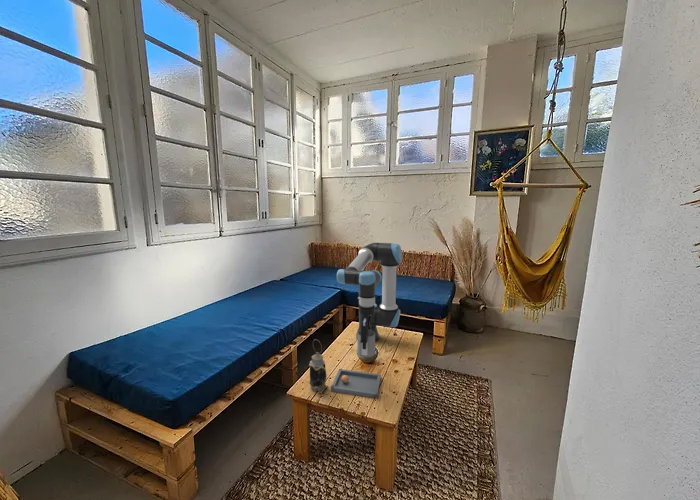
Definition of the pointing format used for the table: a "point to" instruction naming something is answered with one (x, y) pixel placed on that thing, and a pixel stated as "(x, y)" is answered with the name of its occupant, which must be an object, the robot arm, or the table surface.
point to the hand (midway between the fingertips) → (366, 349)
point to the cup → (370, 343)
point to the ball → (344, 378)
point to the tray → (357, 383)
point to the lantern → (317, 371)
